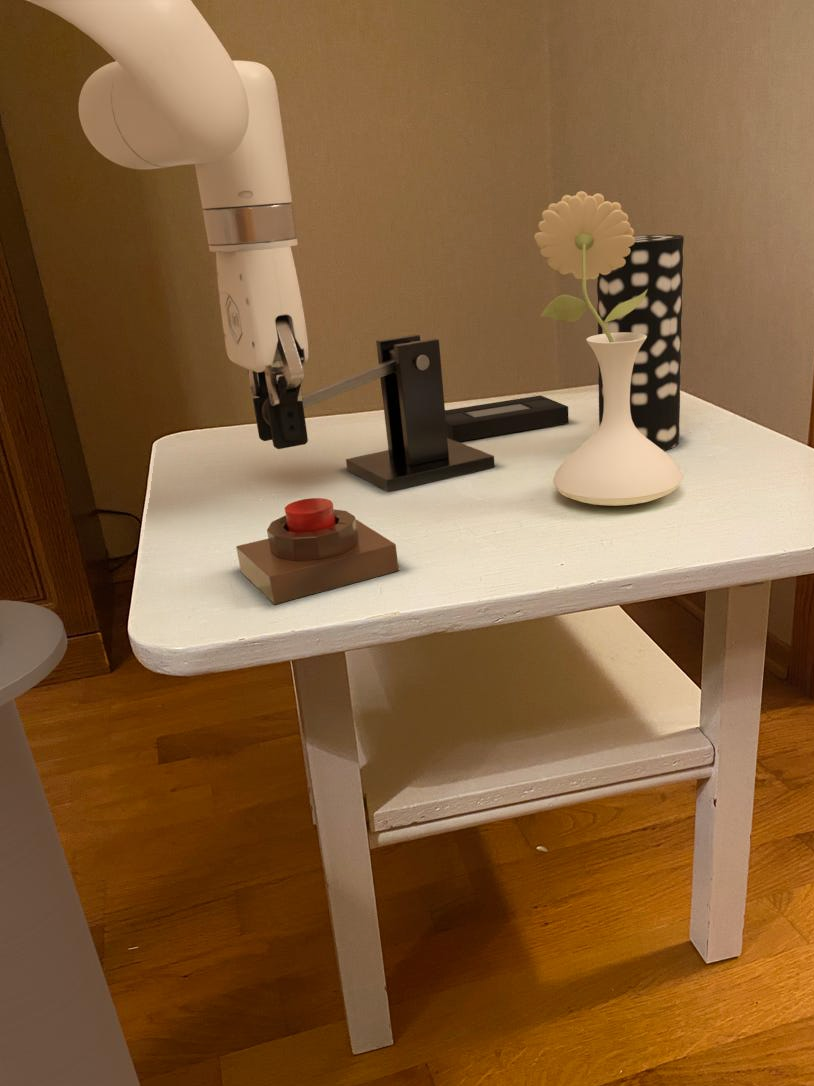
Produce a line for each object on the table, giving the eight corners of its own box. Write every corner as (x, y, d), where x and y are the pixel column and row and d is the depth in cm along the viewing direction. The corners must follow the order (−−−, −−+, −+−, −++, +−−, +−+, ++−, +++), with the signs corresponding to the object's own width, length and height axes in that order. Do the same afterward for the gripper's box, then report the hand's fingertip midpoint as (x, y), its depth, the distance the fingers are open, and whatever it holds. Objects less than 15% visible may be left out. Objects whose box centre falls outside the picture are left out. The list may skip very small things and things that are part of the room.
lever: (275, 437, 88) (263, 403, 86) (264, 430, 90) (252, 398, 89) (433, 372, 93) (424, 339, 92) (418, 367, 96) (409, 336, 94)
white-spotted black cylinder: (598, 455, 98) (594, 245, 89) (600, 434, 106) (597, 238, 97) (680, 452, 97) (685, 239, 88) (677, 431, 104) (681, 232, 96)
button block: (274, 604, 69) (265, 553, 67) (240, 572, 75) (231, 524, 74) (399, 571, 73) (393, 521, 72) (357, 542, 80) (351, 496, 78)
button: (298, 539, 71) (294, 516, 70) (281, 526, 74) (277, 504, 73) (343, 528, 72) (340, 506, 71) (325, 516, 75) (322, 494, 74)
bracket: (387, 492, 92) (372, 355, 86) (346, 470, 100) (329, 343, 94) (495, 467, 97) (486, 336, 91) (448, 448, 105) (437, 326, 99)
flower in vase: (701, 484, 87) (711, 181, 76) (651, 524, 79) (654, 189, 68) (573, 471, 94) (565, 189, 83) (514, 506, 85) (497, 198, 74)
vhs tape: (430, 429, 113) (429, 412, 112) (541, 411, 117) (540, 395, 116) (453, 443, 106) (451, 425, 106) (568, 423, 111) (568, 406, 110)
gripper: (183, 232, 87) (219, 433, 95) (238, 235, 74) (274, 467, 82) (262, 226, 90) (291, 421, 98) (328, 227, 77) (355, 451, 85)
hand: (283, 440), depth 90 cm, fingers closed on lever, 3 cm apart
